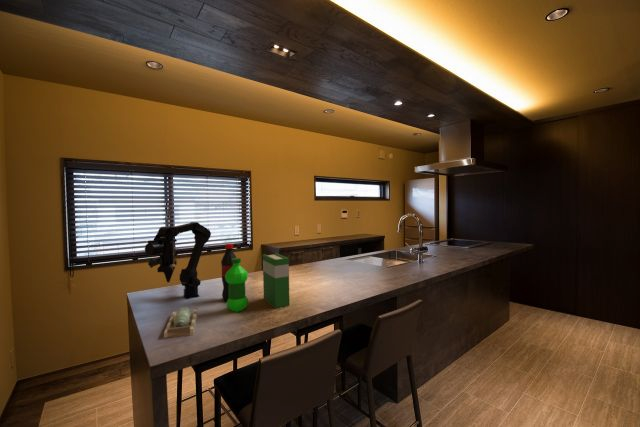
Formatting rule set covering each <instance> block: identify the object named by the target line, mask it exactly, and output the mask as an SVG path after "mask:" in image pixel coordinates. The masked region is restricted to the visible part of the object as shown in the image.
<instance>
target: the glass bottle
mask: <svg viewBox="0 0 640 427" xmlns="http://www.w3.org/2000/svg"><path fill="white" fill-rule="evenodd" d="M191 313H192V312H191V309H190V308H189V307H187V306H182V307H179V308H178V310H176V317H175V320H174V326H175V327H183V326H187V325H188V323H189V319H190V314H191Z"/></svg>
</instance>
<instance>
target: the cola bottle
mask: <svg viewBox="0 0 640 427" xmlns="http://www.w3.org/2000/svg"><path fill="white" fill-rule="evenodd" d="M224 246H225V247H224V249H225V253H224V255H223V256H222V259H221V260H220V263H221V264H220V265H221V282H222V286H223V289H222V293H221V296H222V299H223V300H224V301H225V302H227V300H228V298H229V296H228V283H227V282H226V280H225V275H226V272H227V271H228V270H229V269H230V268H231V267H232V266H233V263H232V259H233V258H237V256H236V254H235V253H234V244H233V243H226V244H225V245H224Z"/></svg>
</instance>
